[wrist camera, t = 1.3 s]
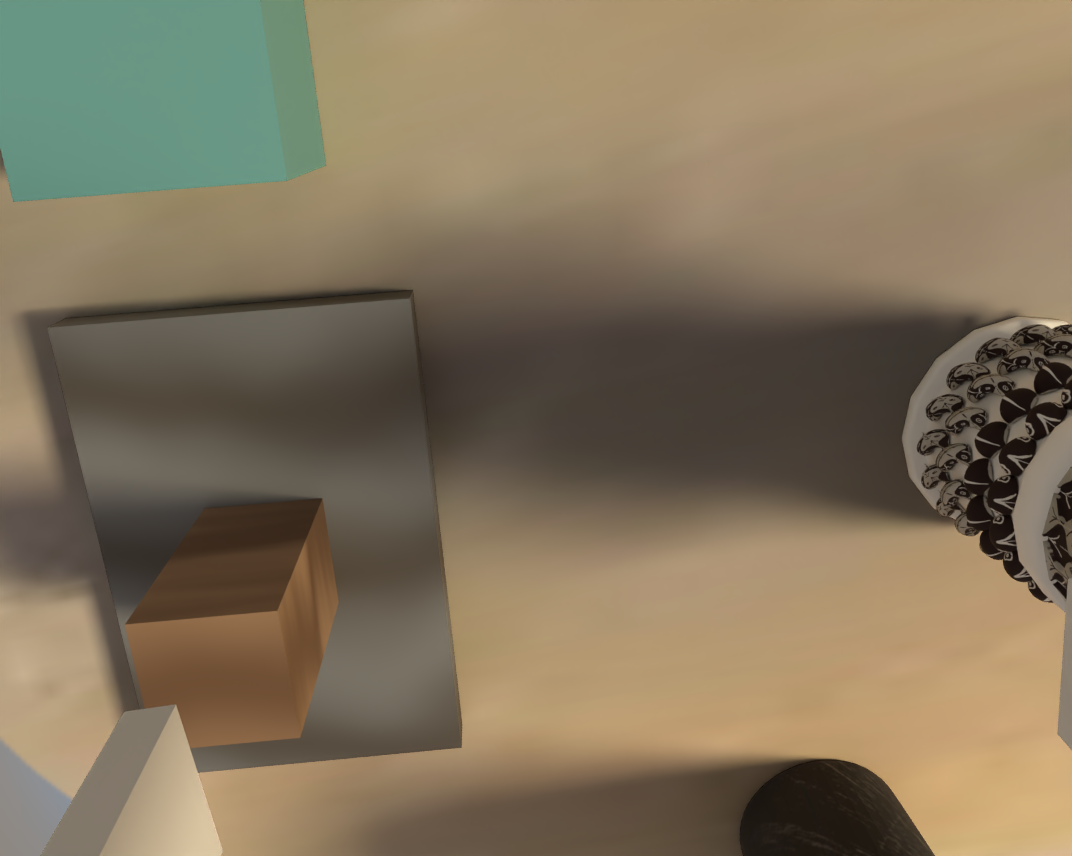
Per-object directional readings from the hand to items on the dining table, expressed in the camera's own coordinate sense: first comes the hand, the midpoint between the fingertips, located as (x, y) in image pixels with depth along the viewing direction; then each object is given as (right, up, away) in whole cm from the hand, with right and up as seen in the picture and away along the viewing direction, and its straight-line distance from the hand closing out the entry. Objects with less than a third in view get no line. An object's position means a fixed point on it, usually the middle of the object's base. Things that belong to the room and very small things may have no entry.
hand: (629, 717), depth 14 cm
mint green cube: (-12, +16, +16) cm, 26 cm away
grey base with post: (-11, 0, +22) cm, 25 cm away
